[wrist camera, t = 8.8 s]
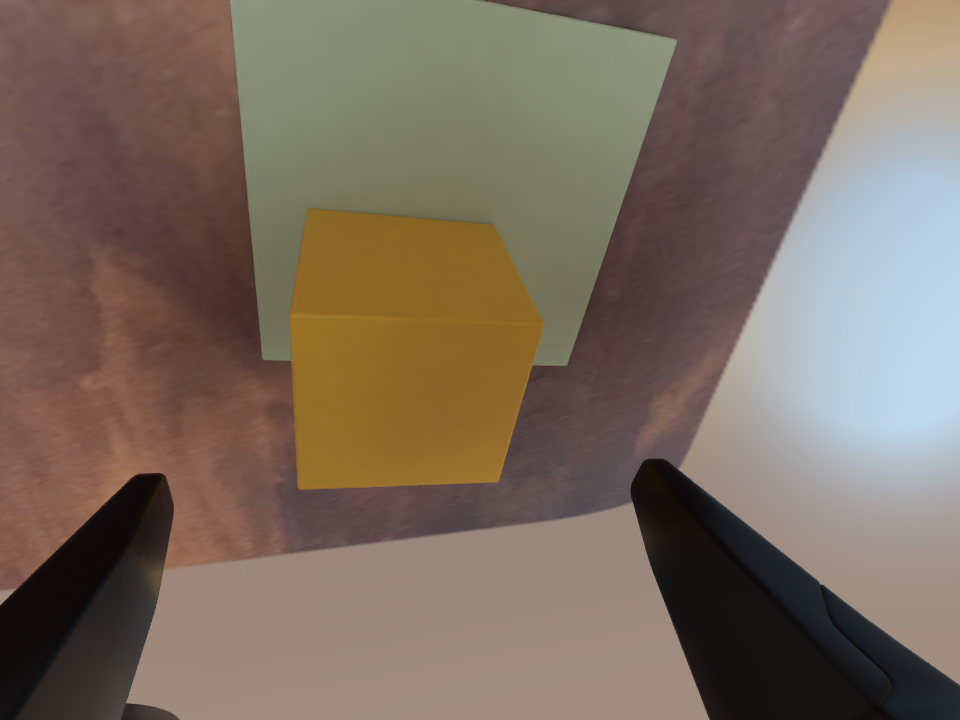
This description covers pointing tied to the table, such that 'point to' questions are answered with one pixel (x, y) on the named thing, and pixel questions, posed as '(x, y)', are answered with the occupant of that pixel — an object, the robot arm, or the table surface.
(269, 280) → the mat
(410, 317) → the yellow block
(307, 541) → the table surface
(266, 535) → the table surface
